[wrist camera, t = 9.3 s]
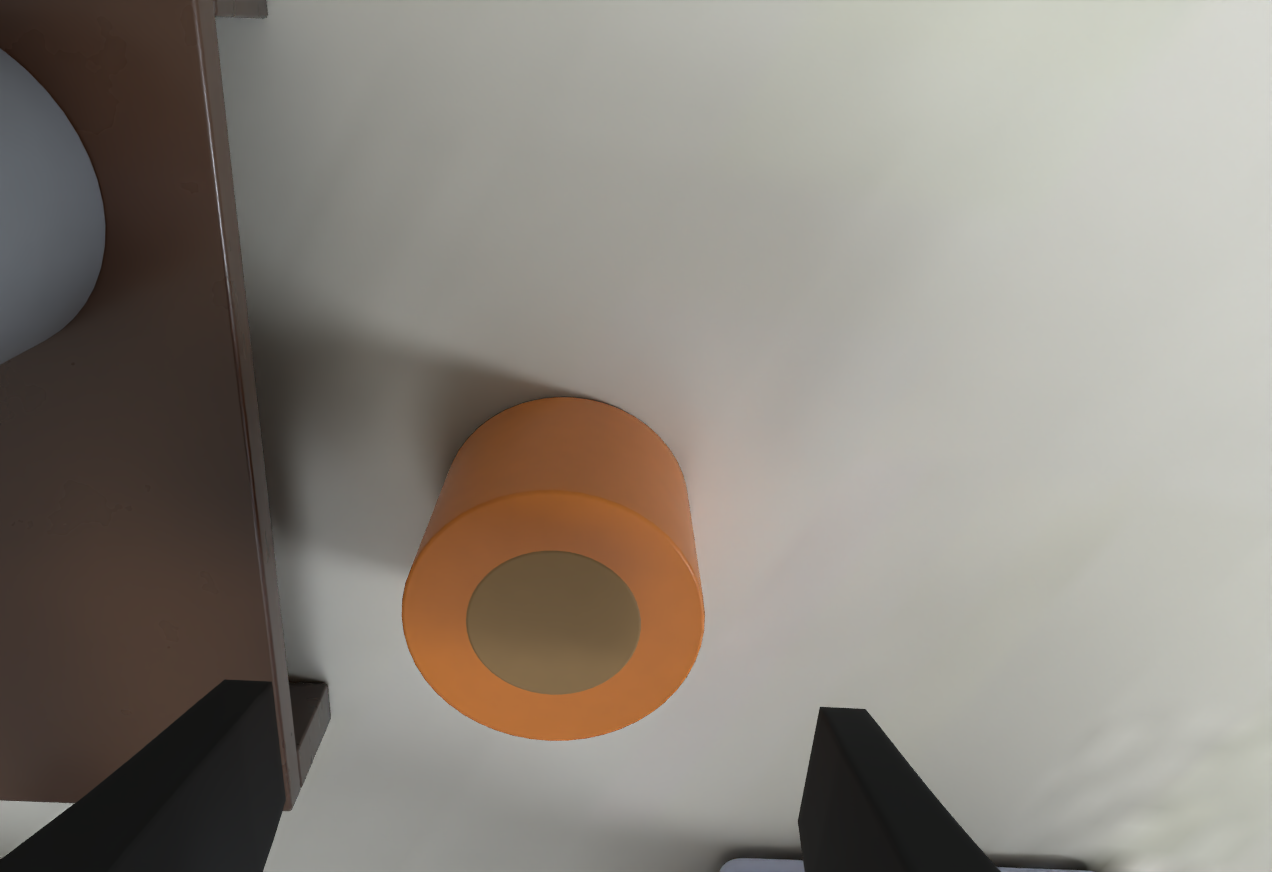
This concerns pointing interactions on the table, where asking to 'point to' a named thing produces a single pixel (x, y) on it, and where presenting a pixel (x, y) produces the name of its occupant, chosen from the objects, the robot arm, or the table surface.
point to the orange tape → (557, 574)
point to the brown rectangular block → (138, 425)
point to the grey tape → (43, 215)
